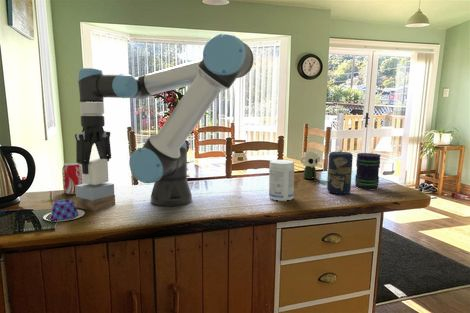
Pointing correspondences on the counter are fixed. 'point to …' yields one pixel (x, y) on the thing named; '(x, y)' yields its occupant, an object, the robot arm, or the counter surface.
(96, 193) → the slate top block
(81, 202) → the walnut base block
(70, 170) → the soda can
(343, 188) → the canister
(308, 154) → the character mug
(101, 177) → the cream pillar block
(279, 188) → the supplement tub
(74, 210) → the pudding
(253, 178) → the counter surface
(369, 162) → the storage jar
